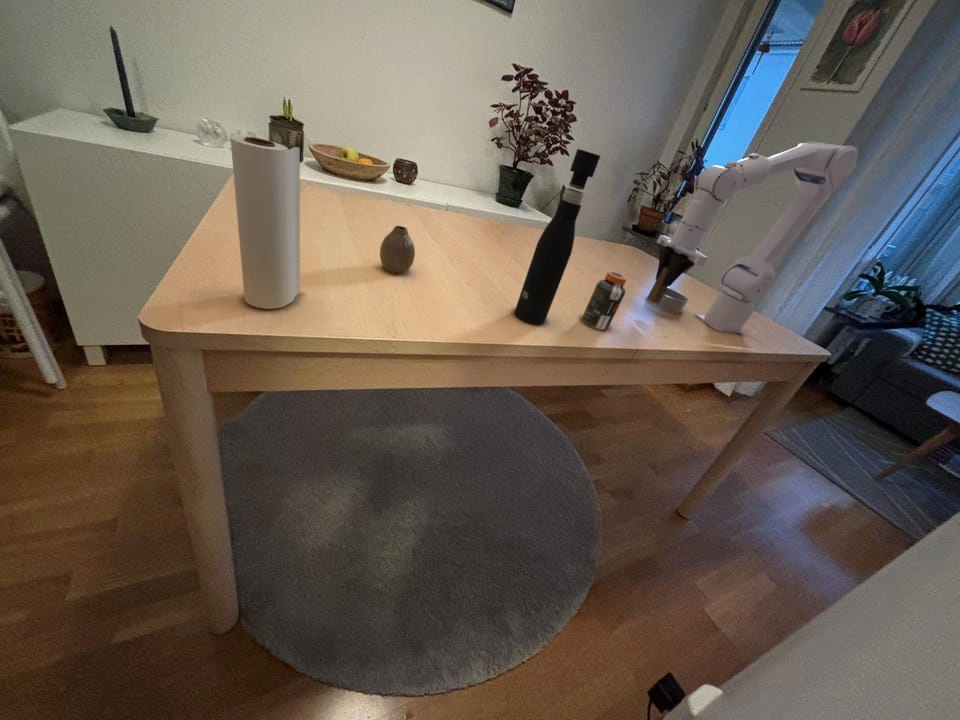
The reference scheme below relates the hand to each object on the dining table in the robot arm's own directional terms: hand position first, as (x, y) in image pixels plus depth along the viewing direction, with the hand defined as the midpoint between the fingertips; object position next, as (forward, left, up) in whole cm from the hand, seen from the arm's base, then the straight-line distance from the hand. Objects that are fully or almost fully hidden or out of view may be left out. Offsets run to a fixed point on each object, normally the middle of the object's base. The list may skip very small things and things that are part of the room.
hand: (662, 282), depth 91 cm
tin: (-12, -8, -9) cm, 17 cm away
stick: (0, 0, -5) cm, 5 cm away
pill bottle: (+20, +9, -9) cm, 24 cm away
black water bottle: (+36, +10, -9) cm, 38 cm away
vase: (+62, -4, -9) cm, 63 cm away
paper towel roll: (+81, +16, -9) cm, 83 cm away
